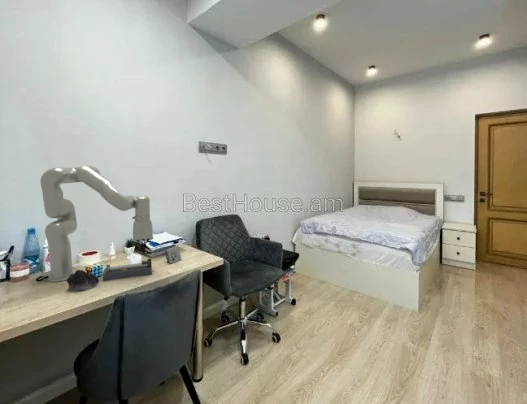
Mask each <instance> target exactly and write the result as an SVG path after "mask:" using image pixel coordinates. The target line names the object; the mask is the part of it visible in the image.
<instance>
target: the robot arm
mask: <svg viewBox="0 0 527 404" xmlns="http://www.w3.org/2000/svg"><path fill="white" fill-rule="evenodd" d="M39 181H40V187H41V193H42V200H43V206H44V213H45V215H46V216H47V217H48V218H49V219H56V220H54V221H51V222H50V223H48V224H47V225H46V226H45V229H44V234H45V238H46V242H47V247H48V256H49V266H50V270H49V271H44V272H41V273H40V276H41V277H42V278H44V277H47V281H48V282H50V283H51V282H52V283H58V282H65V281H67V279H68V278H69V276H70V275H71V274H75V272H76V271H74V270H73V258H72V257H73V256H72V247H71V246H72V245H71V241H70V238H69V235H72V234H73V233H75V231H76V230H77V227H78V220H77V214H76V208H75V205H74V203H73V201H71V200H69V199H67V198H65V197H64V191H63V190H62V187H61V185H62V184H63V185H64V184H73V183H74V184H75V183H83V184H85V185H86V186H88V187H89V188H91V189H92V190H94V191H96V192H97V193H98V194H99V195H100V196H101V197H102V198H103V199H104V200H105V202H107V203H109V205H111V206H113V207H114V208H115V209H117V210H118V211H121V212H126V211H129V210H132V209H134V216H132V220H134V221H133V224H132V241H133V242H137V243H139V245H140V247H139V248H140V250H141V251H142V252H143V251H146V249H147V243H148V242H149V241H152V240H154V236H153V235H154V232H153V222H152V220H151V212H150V211H151V210H150V209H151V206H150V205H151V204H150V203H151V202H150V201H151V199H150V197H149V196H145V195H144V196H143V195H141V196H137V195H126V196H125V195H124V194H122V193H120V192H119V191H117V190H116V189H115V188H114V186H113V184H112V181H111V180H110V179H108V178H107V177H105V176H104V175H102V174H101V171H100V170H99V169H98V168H97V167H96V166H94V165H81V166H77V167H74V166H73V167H63V166H62V167H61V166H60V167H59V166H58V167H52V168H49V169H47V170H46V171H44V172H43V174H42V175H41V176H40V180H39ZM142 240H144V241H142Z"/></svg>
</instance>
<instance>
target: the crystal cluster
mask: <svg viewBox="0 0 527 404" xmlns="http://www.w3.org/2000/svg"><path fill="white" fill-rule="evenodd" d="M74 272H75V274H71V275H70V276H69V278H68V279H67V280H66V282H67V285H68V290H70V291H75V292H76V291H79V292H80V291H86V290H87V291H88V290H90V289H92V288H94V287H97V286H98V285H99V281H100V279H99V278H98V277H97V276H96V275H94V274H93V273H92V274H89V273H88V272H86V271H85V270H84V269H83V270H82V269H76V270H75V271H74Z"/></svg>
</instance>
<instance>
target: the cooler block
mask: <svg viewBox="0 0 527 404" xmlns="http://www.w3.org/2000/svg"><path fill="white" fill-rule="evenodd" d="M146 261H148V265H145V266H138V267H130V268H123V269H115V270H109V267H111V264H106V267H105V268H104V270H103V272H102V281H103V282H108V281H116V280H122V279H129V278H136V277H142V276H143V277H144V276H151V275H153V271H152V270H153V267H152V266H153V265H152V258H147V260H146Z"/></svg>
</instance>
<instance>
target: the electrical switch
mask: <svg viewBox="0 0 527 404" xmlns="http://www.w3.org/2000/svg"><path fill="white" fill-rule="evenodd" d="M164 255H165V258H166V262H167V263H169V264H175V263H176V262H179V261H181V260H182V256H181V252H180V248H179V245H178V246H173V247H170V248H168V249H167V248H166V250H165V251H164Z"/></svg>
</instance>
